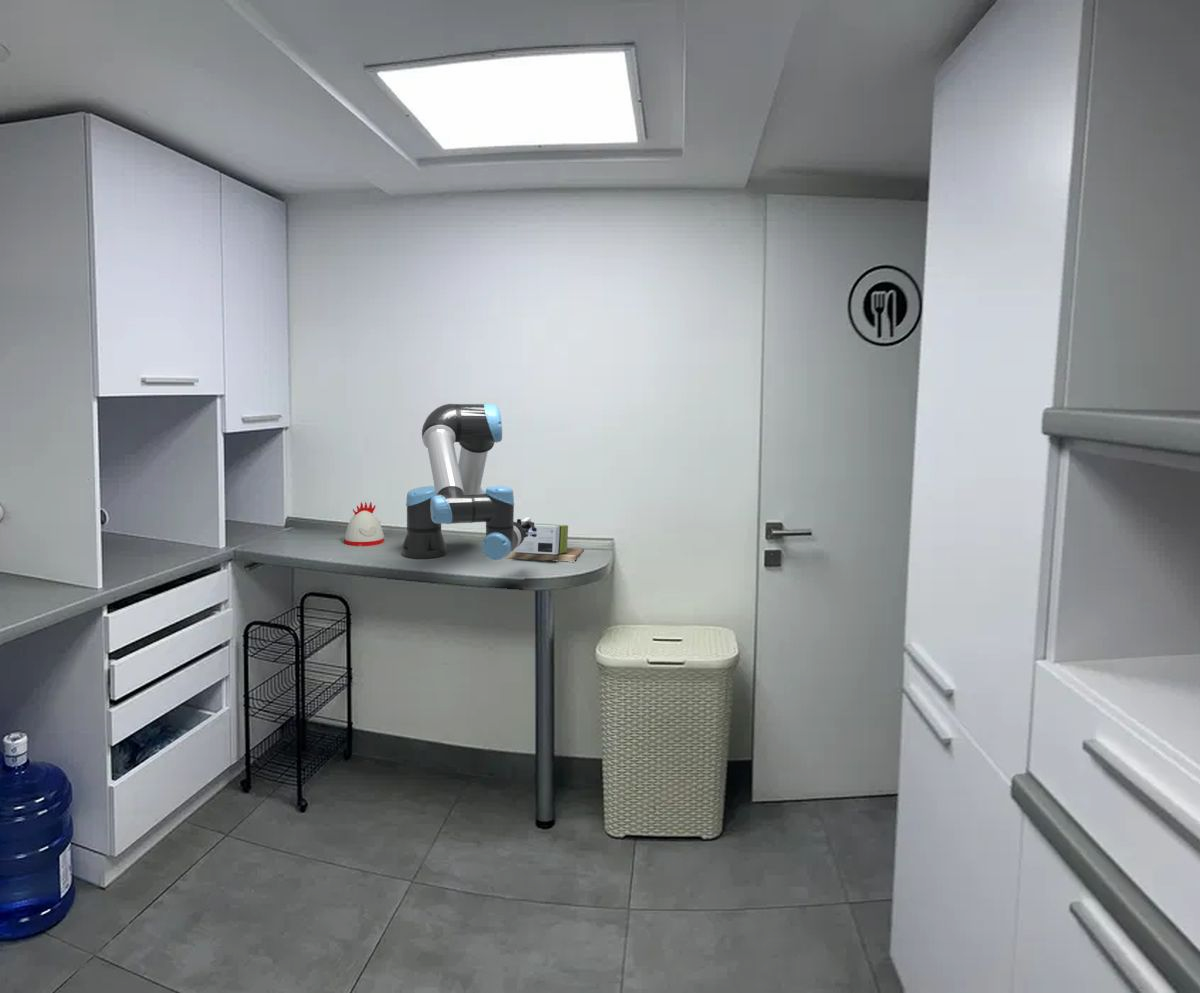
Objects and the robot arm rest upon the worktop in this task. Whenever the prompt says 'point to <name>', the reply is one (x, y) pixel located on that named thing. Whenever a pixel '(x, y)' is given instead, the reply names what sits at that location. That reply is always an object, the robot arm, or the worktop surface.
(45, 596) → the worktop surface
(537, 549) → the tea box
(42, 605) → the worktop surface
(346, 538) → the kitchen timer
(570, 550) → the tan flat board
